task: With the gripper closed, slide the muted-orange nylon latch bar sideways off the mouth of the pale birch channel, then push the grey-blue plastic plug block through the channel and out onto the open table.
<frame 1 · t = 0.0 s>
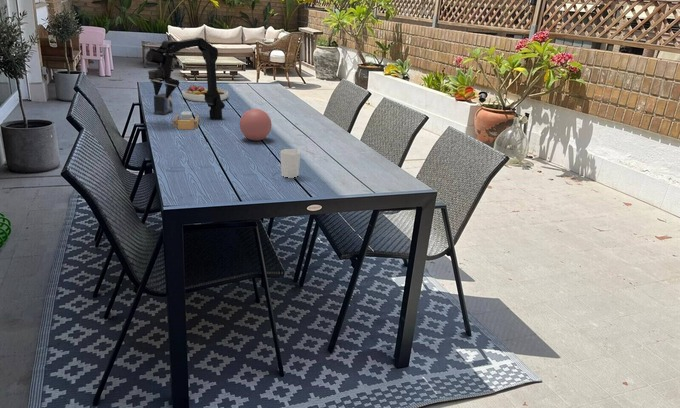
hand: (161, 96, 275), 15 cm above the table, tool pointing down, fingers open, 9 cm apart
channel: (186, 124, 288), on the table
latch bar: (185, 123, 278), point 3 cm above the table, slide at 0.0 cm
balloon: (254, 139, 268), on the table
small box: (164, 113, 312), on the table
plug block: (187, 124, 290), on the table
white cup: (289, 176, 216), on the table
bowl: (205, 99, 362), on the table
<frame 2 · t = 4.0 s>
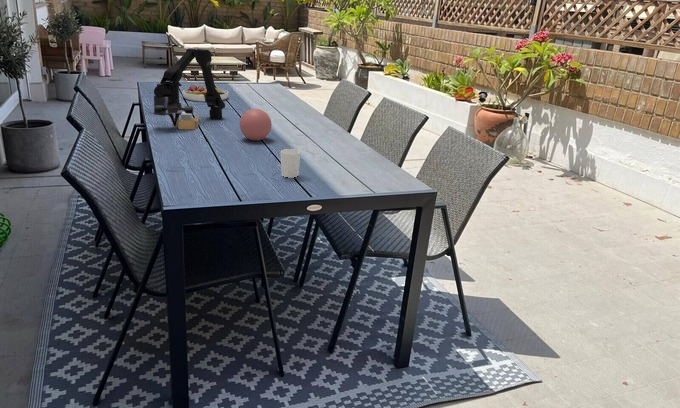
hand: (174, 126, 277), 1 cm above the table, tool pointing down, fingers closed
latch bar: (186, 123, 278), point 3 cm above the table, slide at 0.4 cm, touching gripper
everything else where it was.
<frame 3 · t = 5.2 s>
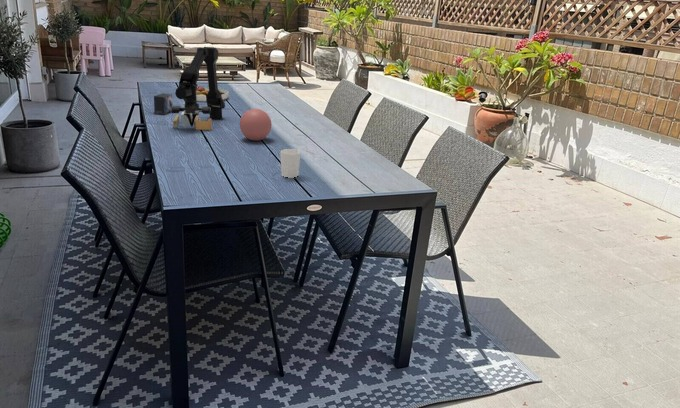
hand: (191, 126, 279), 1 cm above the table, tool pointing down, fingers closed
latch bar: (203, 124, 279), point 3 cm above the table, slide at 8.9 cm, touching gripper
everything else where it was.
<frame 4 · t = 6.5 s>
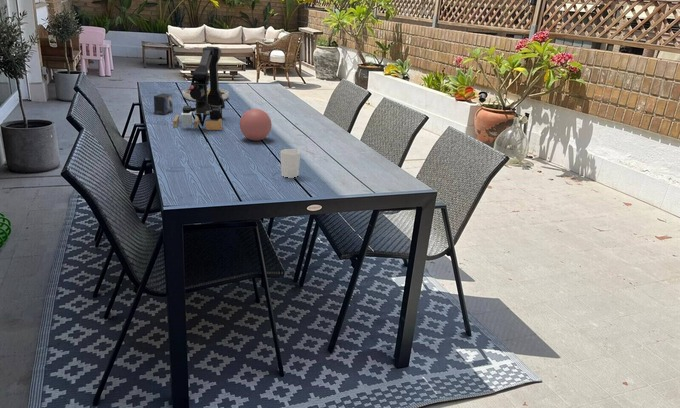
hand: (202, 126, 280), 1 cm above the table, tool pointing down, fingers closed
latch bar: (213, 124, 280), point 3 cm above the table, slide at 14.0 cm, touching gripper
everything else where it was.
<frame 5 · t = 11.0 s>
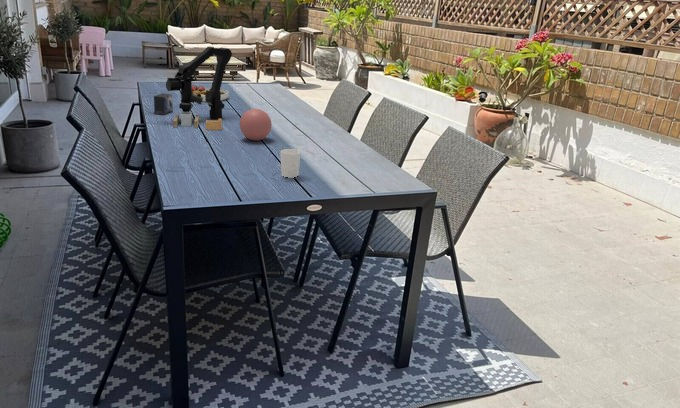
hand: (187, 118, 294), 2 cm above the table, tool pointing down, fingers closed
latch bar: (213, 124, 280), point 3 cm above the table, slide at 14.0 cm
plug block: (186, 124, 289), on the table, touching gripper
everything else where it was.
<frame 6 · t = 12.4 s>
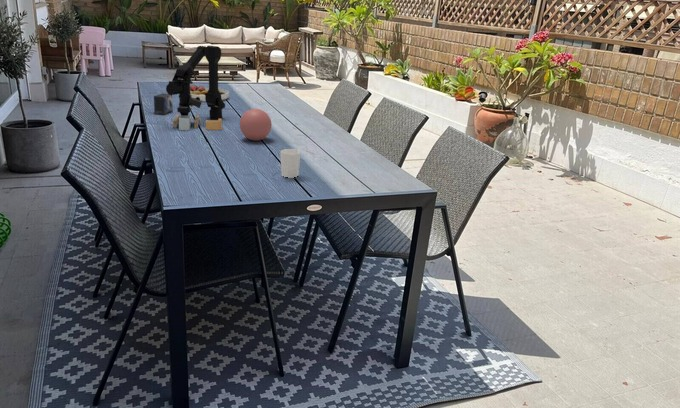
hand: (185, 122, 285), 2 cm above the table, tool pointing down, fingers closed
plug block: (185, 128, 280), on the table, touching gripper
everything else where it was.
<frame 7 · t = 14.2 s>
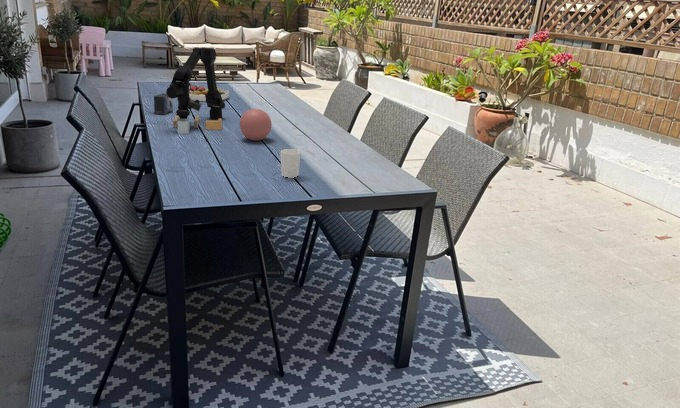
hand: (184, 126, 278), 2 cm above the table, tool pointing down, fingers closed
plug block: (183, 132, 273), on the table, touching gripper
everything else where it was.
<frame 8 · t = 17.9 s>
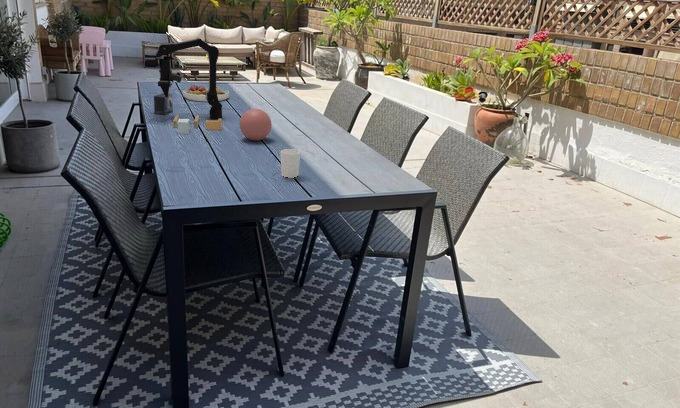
hand: (166, 97, 293), 12 cm above the table, tool pointing down, fingers closed
plug block: (183, 132, 273), on the table
everything else where it was.
at the end: plug block inside the target area (4.6 cm from its centre), on the table; latch bar slide at 14.0 cm; plug block tilted 0° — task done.
